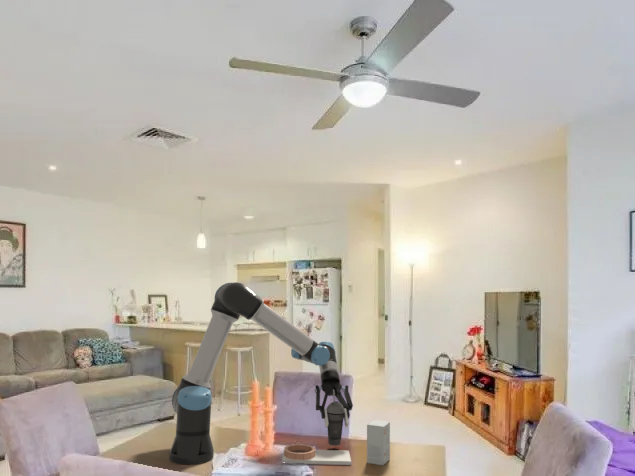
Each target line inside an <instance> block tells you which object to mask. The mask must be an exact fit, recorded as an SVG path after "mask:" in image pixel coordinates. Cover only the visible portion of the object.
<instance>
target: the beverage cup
mask: <svg viewBox="0 0 635 476" xmlns="http://www.w3.org/2000/svg"><path fill="white" fill-rule="evenodd" d="M332 397H333V401H331V402H330V403H329V404H328V406H327V407H326V408H327V416H328V423H329V424H328V427H327V439H328V445H329V446H341V440H342V433H343V425H344V424H343V423H344V414H345V412H344V407H343V405H342V404H341V403H340V402H339V401H336V396H335V393H334V389H333V395H332Z"/></svg>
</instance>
